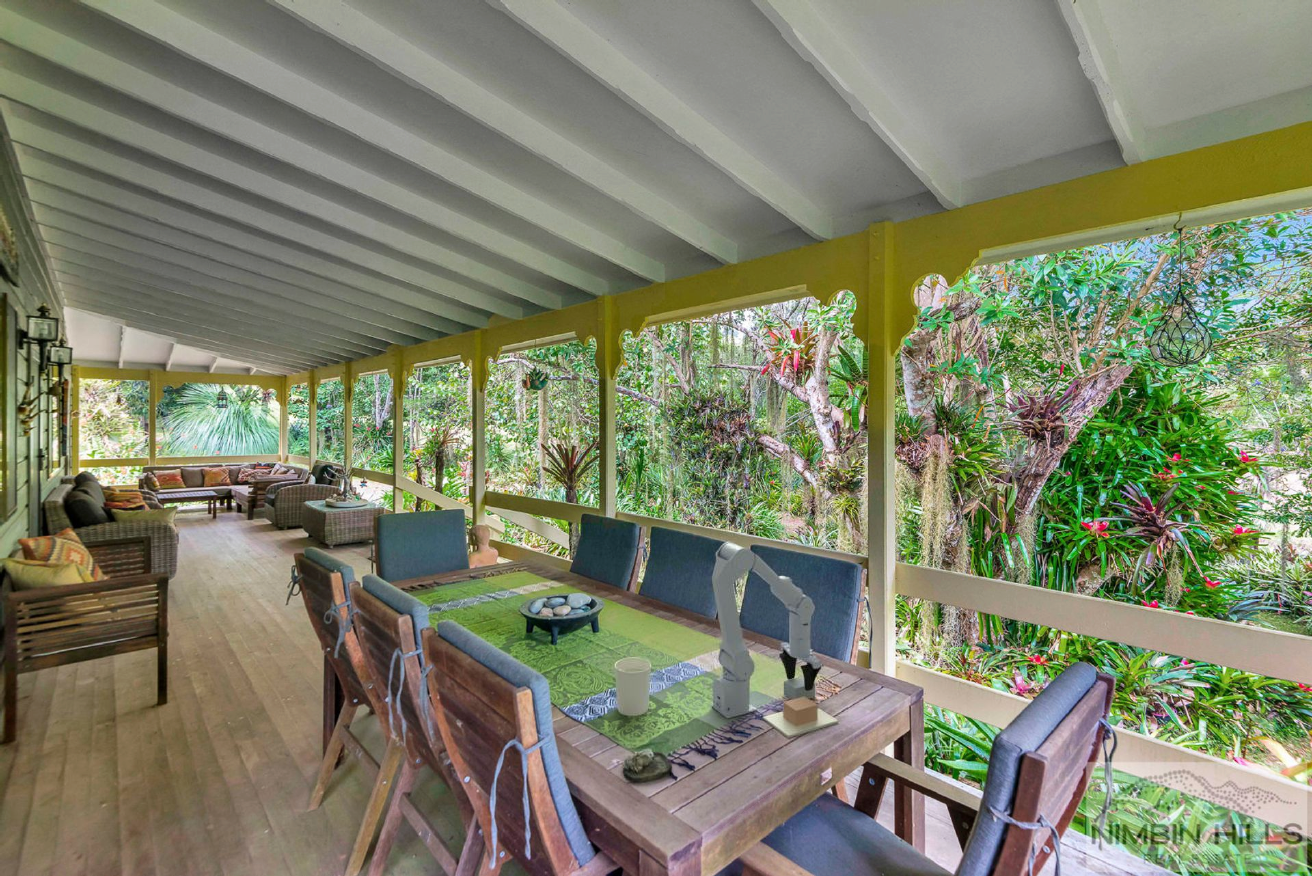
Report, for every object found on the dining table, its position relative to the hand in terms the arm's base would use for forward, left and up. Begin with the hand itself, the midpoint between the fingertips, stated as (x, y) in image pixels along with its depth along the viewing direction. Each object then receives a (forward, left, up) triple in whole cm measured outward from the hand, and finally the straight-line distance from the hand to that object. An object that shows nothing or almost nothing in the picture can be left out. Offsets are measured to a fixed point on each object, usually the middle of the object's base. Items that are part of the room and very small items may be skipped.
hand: (799, 683), depth 163 cm
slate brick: (0, 0, -4) cm, 4 cm away
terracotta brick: (-9, -11, -3) cm, 15 cm away
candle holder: (-45, +14, -4) cm, 47 cm away
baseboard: (-9, -11, -3) cm, 15 cm away
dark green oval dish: (-53, -12, -4) cm, 55 cm away
